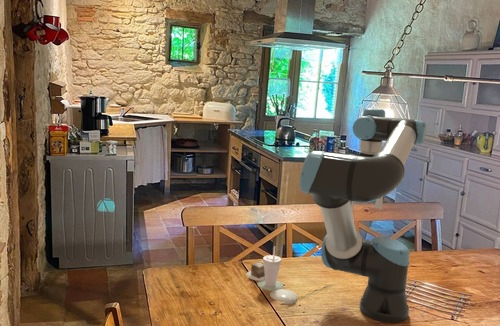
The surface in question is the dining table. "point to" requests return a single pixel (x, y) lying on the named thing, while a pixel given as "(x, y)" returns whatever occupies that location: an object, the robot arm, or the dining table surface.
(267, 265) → the smoothie
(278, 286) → the saucer mid
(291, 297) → the saucer near
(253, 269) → the letter cube
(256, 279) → the saucer far
